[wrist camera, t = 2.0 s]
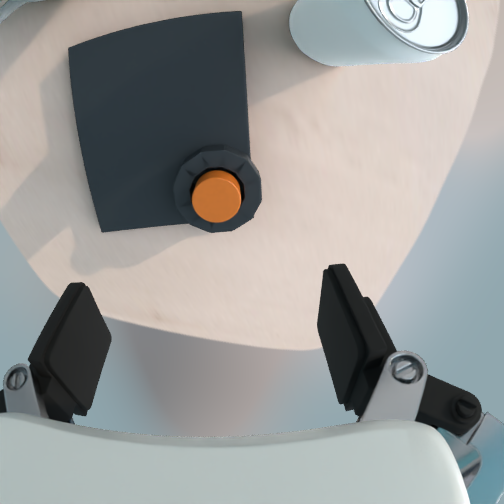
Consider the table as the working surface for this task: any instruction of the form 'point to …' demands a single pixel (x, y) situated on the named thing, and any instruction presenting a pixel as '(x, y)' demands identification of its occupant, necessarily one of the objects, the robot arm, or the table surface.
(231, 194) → the button
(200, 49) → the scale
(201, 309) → the table surface
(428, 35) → the can
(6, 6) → the teacup
